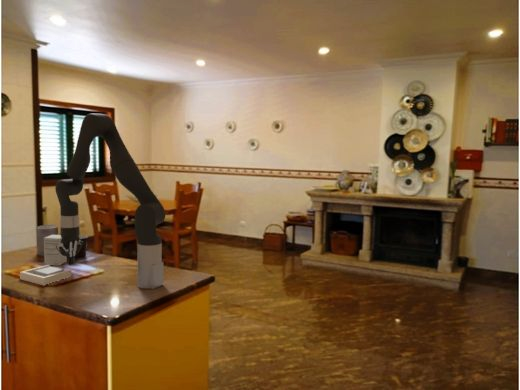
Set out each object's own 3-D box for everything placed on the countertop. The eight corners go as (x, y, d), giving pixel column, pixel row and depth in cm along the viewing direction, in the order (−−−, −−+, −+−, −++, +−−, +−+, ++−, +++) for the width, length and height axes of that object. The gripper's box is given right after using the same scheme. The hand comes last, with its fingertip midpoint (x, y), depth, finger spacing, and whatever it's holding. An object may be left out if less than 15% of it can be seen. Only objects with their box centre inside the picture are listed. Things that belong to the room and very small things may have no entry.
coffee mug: (83, 259, 198) (83, 239, 197) (65, 258, 198) (65, 238, 197) (93, 253, 210) (93, 234, 209) (76, 252, 210) (76, 233, 209)
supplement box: (52, 260, 195) (52, 234, 194) (68, 261, 195) (67, 234, 193) (43, 264, 188) (43, 237, 186) (59, 265, 187) (59, 238, 186)
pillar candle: (48, 250, 213) (47, 221, 212) (63, 252, 210) (62, 223, 209) (32, 254, 204) (31, 225, 202) (48, 256, 201) (47, 226, 199)
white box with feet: (66, 276, 173) (65, 269, 172) (48, 281, 166) (48, 274, 165) (51, 272, 177) (51, 265, 176) (34, 277, 170) (33, 270, 169)
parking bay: (71, 277, 172) (71, 270, 171) (43, 285, 160) (43, 278, 160) (48, 271, 178) (48, 264, 178) (20, 279, 167) (19, 272, 167)
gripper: (62, 228, 170) (63, 269, 172) (88, 224, 182) (89, 262, 184) (50, 226, 173) (51, 267, 175) (76, 222, 185) (77, 260, 187)
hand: (70, 264), depth 179 cm, fingers closed
